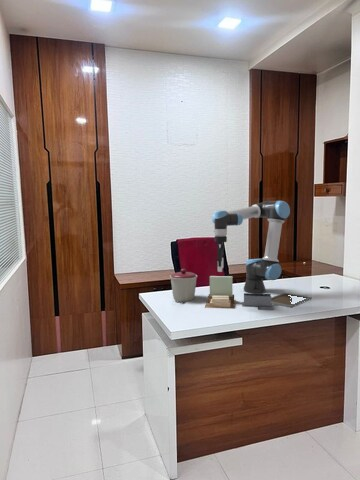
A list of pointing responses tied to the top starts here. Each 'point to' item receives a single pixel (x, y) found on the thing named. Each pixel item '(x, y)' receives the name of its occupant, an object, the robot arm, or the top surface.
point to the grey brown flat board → (286, 300)
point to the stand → (257, 301)
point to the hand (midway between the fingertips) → (220, 269)
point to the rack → (232, 306)
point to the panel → (221, 286)
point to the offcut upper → (220, 299)
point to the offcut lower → (220, 304)
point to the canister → (183, 285)
